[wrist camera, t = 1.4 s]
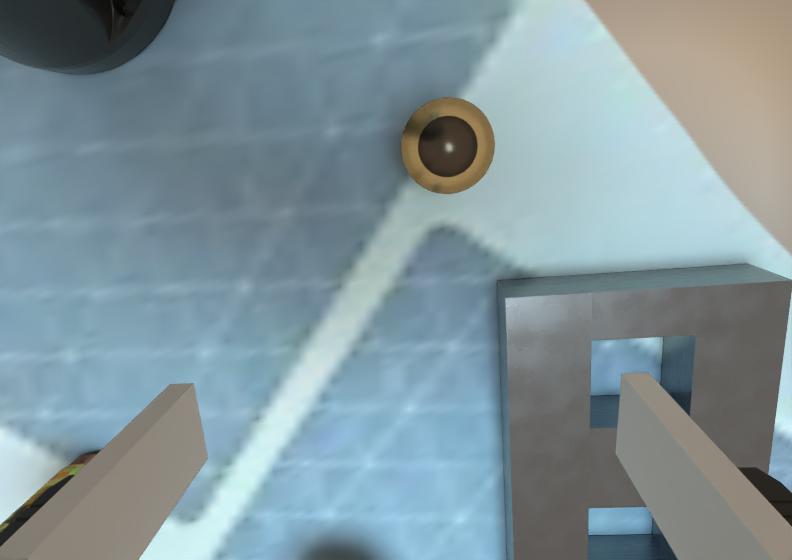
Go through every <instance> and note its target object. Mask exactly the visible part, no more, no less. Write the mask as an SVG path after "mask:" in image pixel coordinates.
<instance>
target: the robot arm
mask: <svg viewBox="0 0 792 560" xmlns="http://www.w3.org/2000/svg"><path fill="white" fill-rule="evenodd" d="M173 2H174V0H0V55H1V56H3V57H5V58H8V59H10V60H13V61H15V62H18V63H21V64H24V65H27V66H31V67H35V68H40V69H45V70H50V71H55V72H60V73H67V74H91V73H98V72H102V71H106V70H109V69H112V68H115V67H117V66H119V65H121V64H123V63H125V62H127V61H128V60H130V59H131V58H133V57H134V56H136V55H137V54H138V53H139V52H141V51H142V50H143V49H144V48H145V47H146V46H147V45H148V44H149V43H150V42H151V41H152V40H153V38H154V37H155V36H156V34H157V33H158V32H159V30H160V29H161V27H162V25H163V24H164V22H165V20H166V18H167V16H168V14H169V12H170V10H171V7H172V5H173ZM616 455H617V457H618V458H619V460H620V462H621V464H622V465H623V467H624V469H625V470H626V472H627V474H628V475H629V477H630V479H631V481H632V482H633V484H634V486H635V487H636V489H637V491H638V492H639V494H640V496H641V498H642V499H643V501H644V503H645V504H646V506H647V508H648V509H649V511H650V513H651V515H652V516H653V518H654V520H655V521H656V523H657V525H658V526H659V528H660V530H661V532H662V533H663V535H664V537H665V538H666V540H667V542H668V543H669V545H670V547H671V549H672V550H673V552H674V554H675V555H676V557H677V559H678V560H792V493H791V492H790V491H789V490H788V489H787V488H786V487H785V486H784V485H783V484H782V483H781V482H779V481H778V480H776V479H774V478H773V477H771V476H769V475H768V474H766V473H764V472H763V471H761V470H760V469H758V468H756V467H739V468H737V467H736V466H735V465H734V464H733V463H732V462H731V461H730V460H729V459H728V457H727V456H726V455H725V454H724V453H723V452H722V451H721V450H720V449H719V448H718V447H717V446H716V445H715V443H714V442H713V441H712V440H711V439H710V438H709V437H708V436H707V435H706V434H705V433H704V432H703V431H702V429H701V428H700V427H699V426H698V425H697V424H696V423H695V422H694V421H693V420H692V419H691V418H690V417H689V416H688V414H687V413H686V412H685V411H684V410H683V409H682V408H681V407H680V406H679V405H678V404H677V403H676V402H675V400H674V399H673V398H672V397H671V396H670V395H669V394H668V393H667V392H666V391H665V390H664V389H663V388H662V386H661V385H660V384H659V383H658V382H657V381H656V380H655V379H654V378H653V377H652V376H651V375H650V374H649V373H622V375H621V388H620V401H619V414H618V427H617V440H616ZM207 459H208V454H207V449H206V444H205V439H204V434H203V429H202V424H201V419H200V414H199V409H198V404H197V399H196V393H195V388H194V383H191V384H170V385H169V386H168V387H167V388H166V389H165V390H164V391H163V392H161V393H160V394H159V395H158V396H157V397H156V398H155V399H154V400H153V401H152V402H151V403H150V404H149V405H148V406H147V407H146V408H145V409H144V410H143V411H142V412H141V413H140V414H138V415H137V416H136V417H135V418H134V419H133V420H132V421H131V422H130V423H129V424H128V425H127V426H126V427H125V428H124V429H123V430H122V431H121V432H120V433H119V434H118V435H117V436H116V437H114V438H113V439H112V440H111V441H110V442H109V443H108V444H107V445H106V446H105V447H104V448H103V449H102V450H101V451H100V452H99V453H98V454H97V455H96V456H95V457H94V458H93V459H92V460H90V461H89V462H88V463H87V464H86V465H85V466H84V467H83V468H82V469H81V470H80V471H79V472H78V473H77V474H76V475H69V476H67V477H66V478H64V479H62V480H61V481H59V482H58V483H56V484H54V485H53V486H51V487H49V488H48V489H47V490H46V491H44V492H43V493H42V494H41V495H40V496H39V497H38V498H37V499H36V500H35V501H34V502H33V503H31V504H30V507H29V508H26V509H25V510H24V511H23V512H22V513H21V514H20V515H19V516H17V517H16V520H15V522H11V523H10V524H9V525H8V526H7V527H6V528H4V529H3V530H2V531H1V532H0V560H139V558H140V557H141V555H142V554H143V552H144V551H145V549H146V548H147V546H148V545H149V544H150V542H151V541H152V539H153V538H154V536H155V535H156V533H157V532H158V530H159V529H160V528H161V526H162V525H163V523H164V522H165V520H166V519H167V517H168V516H169V514H170V513H171V511H172V510H173V509H174V507H175V506H176V504H177V503H178V501H179V500H180V498H181V497H182V495H183V494H184V493H185V491H186V490H187V488H188V487H189V485H190V484H191V482H192V481H193V479H194V478H195V477H196V475H197V474H198V472H199V471H200V469H201V468H202V466H203V465H204V463H205V462H206V460H207Z"/></svg>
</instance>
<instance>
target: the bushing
mask: <svg viewBox="0 0 792 560" xmlns="http://www.w3.org/2000/svg"><path fill="white" fill-rule="evenodd" d="M494 146H495V142H494V134H493V130H492V127H491V125H490V123H489V121H488V119H487V118H486V116H485V115H484V113H483V112H482V111H481V110H480V109H479V108H477V107H476V106H475V105H473V104H471V103H470V102H468V101H465V100H462V99H458V98H440V99H436V100H433V101H431V102H429V103H427V104H425V105H423V106H422V107H421V108H419V109H418V110H417V111H416V112H415V113H414V114H413V115H412V117H411V118H410V120H409V121H408V123H407V125H406V127H405V130H404V132H403V136H402V143H401V152H402V158H403V161H404V164H405V167H406V169H407V171H408V172H409V174H410V175H411V177H412V178H413V179H414V180H415V181H416V182H417V183H418V184H419V185H421V186H422V187H424V188H426V189H427V190H430V191H432V192H436V193H442V194H452V193H457V192H461V191H464V190H466V189H468V188H470V187H471V186H473V185H474V184H476V183H477V182H478V181H479V180H480V179H481V178H482V177H483V176H484V174H485V173H486V172H487V170H488V168H489V166H490V164H491V162H492V158H493V155H494Z"/></svg>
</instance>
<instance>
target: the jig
mask: <svg viewBox="0 0 792 560" xmlns="http://www.w3.org/2000/svg"><path fill="white" fill-rule="evenodd" d="M791 292H792V280H791V279H788V278H785V277H783V276H780V275H777V274H775V273H772V272H769V271H767V270H764V269H761V268H759V267H756V266H753V265H750V264H738V265H722V266H707V267H692V268H677V269H662V270H647V271H632V272H616V273H601V274H586V275H571V276H556V277H541V278H526V279H510V280H497V300H498V327H499V355H500V382H501V410H502V437H503V464H504V492H505V519H506V547H507V560H678V559H677V557H676V555H675V554H674V552H673V550H672V549H671V547H670V545H669V543H668V542H667V540H666V538H665V537H664V535H663V533H662V532H661V530H660V528H659V526H658V525H657V523H656V521H655V520H654V518H653V525H652V535H599V536H588V508H615V507H647V506H646V504H645V503H644V501H643V499H642V498H641V496H640V494H639V492H638V491H637V489H636V487H635V486H634V484H633V482H632V481H631V479H630V477H629V475H628V474H627V472H626V470H625V469H624V467H623V465H622V464H621V462H620V460H619V458H618V457H617V455H616V440H617V427H618V414H619V401H620V395H610V396H590V387H591V341H592V340H611V339H629V338H648V337H663V353H662V370H661V386H662V388H663V389H664V390H665V391H666V392H667V393H668V394H669V395H670V396H671V397H672V398H673V399H674V400H675V402H676V403H677V404H678V405H679V406H680V407H681V408H682V409H683V410H684V411H685V412H686V413H687V414H688V416H689V417H690V418H691V419H692V420H693V421H694V422H695V423H696V424H697V425H698V426H699V427H700V428H701V429H702V431H703V432H704V433H705V434H706V435H707V436H708V437H709V438H710V439H711V440H712V441H713V442H714V443H715V445H716V446H717V447H718V448H719V449H720V450H721V451H722V452H723V453H724V454H725V455H726V456H727V457H728V459H729V460H730V461H731V462H732V463H733V464H734V465H735V466H736V467H737V468H739V467H756V468H758V469H760V470H761V471H763V472H764V473H766V474H768V471H769V463H770V456H771V448H772V440H773V432H774V424H775V417H776V409H777V401H778V393H779V385H780V378H781V370H782V362H783V354H784V347H785V339H786V331H787V323H788V315H789V308H790V300H791Z"/></svg>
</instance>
